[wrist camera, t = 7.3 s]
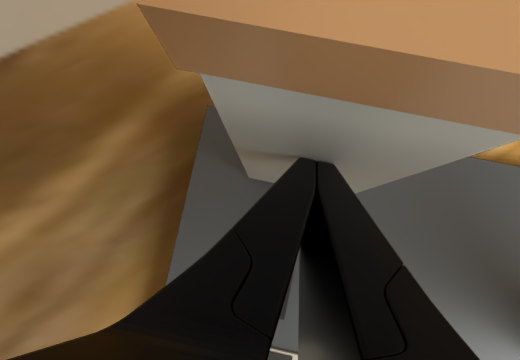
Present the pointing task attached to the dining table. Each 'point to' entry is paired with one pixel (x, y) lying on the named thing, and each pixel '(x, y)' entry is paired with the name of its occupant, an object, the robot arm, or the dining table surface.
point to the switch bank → (390, 238)
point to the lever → (352, 79)
